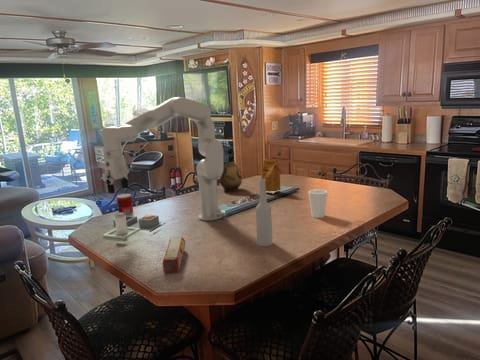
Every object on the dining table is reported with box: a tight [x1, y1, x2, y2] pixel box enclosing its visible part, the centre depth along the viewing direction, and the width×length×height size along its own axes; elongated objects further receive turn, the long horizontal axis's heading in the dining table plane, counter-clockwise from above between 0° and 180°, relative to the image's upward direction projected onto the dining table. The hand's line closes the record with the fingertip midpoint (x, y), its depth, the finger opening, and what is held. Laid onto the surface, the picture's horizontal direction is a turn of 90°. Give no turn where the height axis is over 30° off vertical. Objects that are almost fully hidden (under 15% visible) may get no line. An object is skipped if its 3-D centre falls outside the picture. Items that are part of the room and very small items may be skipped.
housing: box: [112, 214, 163, 233], centre depth 184 cm, size 23×10×6 cm, turn 69°
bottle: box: [255, 178, 273, 247], centre depth 151 cm, size 7×7×28 cm
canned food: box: [116, 193, 134, 214], centre depth 207 cm, size 8×8×11 cm
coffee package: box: [260, 158, 281, 191], centre depth 238 cm, size 10×12×22 cm
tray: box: [102, 227, 141, 243], centre depth 172 cm, size 12×12×2 cm
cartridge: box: [114, 212, 128, 236], centre depth 171 cm, size 5×5×10 cm
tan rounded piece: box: [143, 214, 153, 219], centre depth 181 cm, size 4×4×4 cm
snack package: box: [162, 236, 186, 274], centre depth 141 cm, size 21×7×7 cm, turn 3°
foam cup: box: [308, 188, 328, 219], centre depth 185 cm, size 10×9×13 cm
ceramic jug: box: [219, 146, 243, 192], centre depth 249 cm, size 17×15×30 cm
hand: (118, 190), depth 168 cm, fingers open, 9 cm apart
